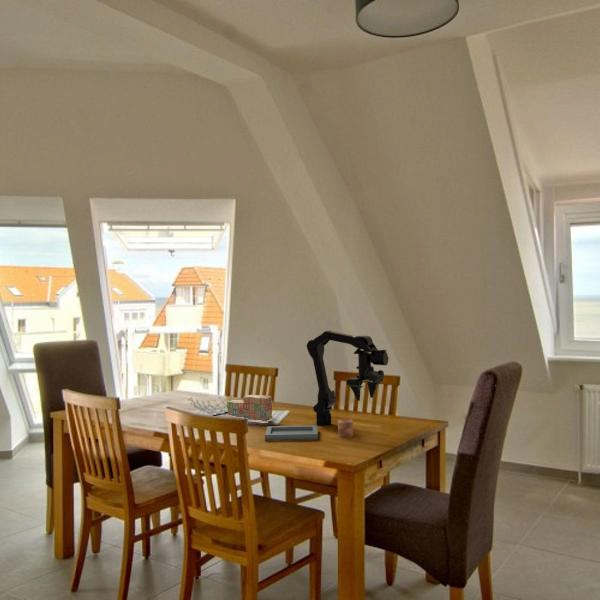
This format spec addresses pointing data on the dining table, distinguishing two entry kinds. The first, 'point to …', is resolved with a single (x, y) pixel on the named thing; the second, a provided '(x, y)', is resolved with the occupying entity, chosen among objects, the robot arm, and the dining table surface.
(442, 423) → the dining table surface
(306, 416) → the dining table surface
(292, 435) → the tray
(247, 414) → the stack of blocks
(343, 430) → the cube
